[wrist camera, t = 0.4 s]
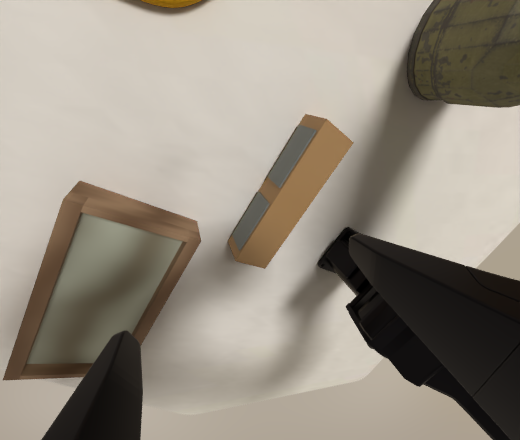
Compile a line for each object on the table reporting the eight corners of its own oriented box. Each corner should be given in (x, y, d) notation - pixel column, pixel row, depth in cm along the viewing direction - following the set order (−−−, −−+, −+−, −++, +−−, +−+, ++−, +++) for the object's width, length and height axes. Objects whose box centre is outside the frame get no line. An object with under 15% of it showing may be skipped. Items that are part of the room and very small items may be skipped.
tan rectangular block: (328, 134, 21) (353, 142, 18) (253, 247, 25) (264, 268, 22) (302, 112, 19) (325, 117, 17) (226, 239, 23) (234, 260, 21)
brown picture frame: (196, 221, 21) (201, 240, 18) (127, 346, 26) (123, 375, 23) (79, 180, 16) (62, 199, 13) (22, 343, 21) (2, 380, 18)
